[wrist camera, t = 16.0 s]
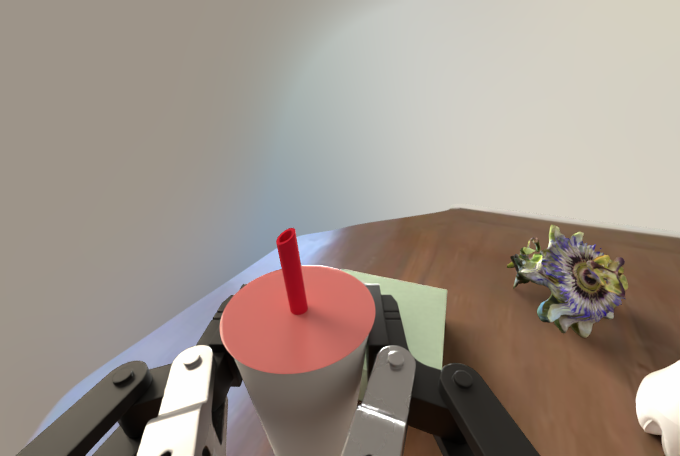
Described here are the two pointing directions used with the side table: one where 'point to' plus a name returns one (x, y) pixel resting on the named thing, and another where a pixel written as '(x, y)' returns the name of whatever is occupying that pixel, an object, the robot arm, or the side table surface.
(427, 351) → the green button box
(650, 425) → the water bottle
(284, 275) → the cup
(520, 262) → the passion flower
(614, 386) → the side table surface
